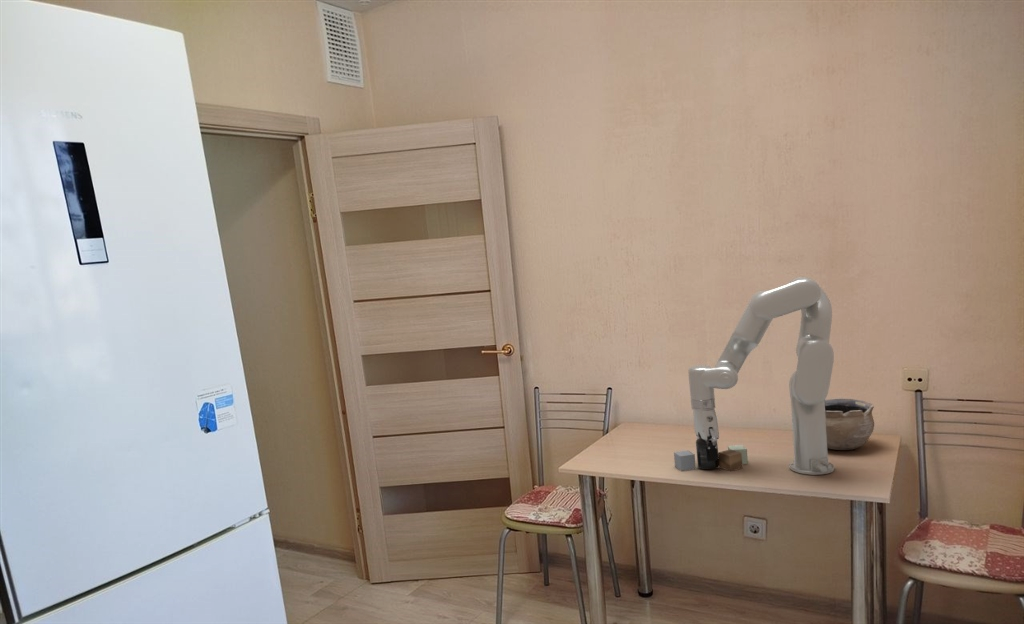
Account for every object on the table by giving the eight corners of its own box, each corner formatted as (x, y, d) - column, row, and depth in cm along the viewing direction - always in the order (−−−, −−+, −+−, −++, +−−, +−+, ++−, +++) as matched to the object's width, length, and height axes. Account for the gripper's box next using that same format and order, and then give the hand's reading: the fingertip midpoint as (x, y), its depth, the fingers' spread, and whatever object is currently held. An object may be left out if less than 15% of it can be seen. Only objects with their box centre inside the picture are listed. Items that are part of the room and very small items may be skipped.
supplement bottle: (724, 467, 208) (720, 430, 207) (706, 471, 205) (703, 434, 205) (710, 462, 214) (707, 426, 213) (693, 466, 212) (690, 430, 211)
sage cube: (747, 464, 210) (746, 449, 210) (732, 464, 211) (731, 450, 210) (743, 459, 215) (743, 444, 215) (728, 460, 216) (727, 445, 215)
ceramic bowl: (835, 460, 206) (833, 414, 205) (790, 444, 227) (787, 402, 226) (891, 449, 212) (889, 405, 211) (841, 435, 233) (839, 394, 232)
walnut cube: (742, 467, 207) (741, 452, 206) (730, 471, 205) (729, 455, 204) (731, 464, 211) (730, 449, 211) (719, 467, 209) (718, 452, 209)
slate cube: (695, 469, 210) (694, 454, 209) (681, 471, 209) (680, 456, 209) (689, 465, 215) (687, 450, 214) (674, 467, 214) (673, 452, 213)
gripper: (725, 407, 200) (729, 463, 201) (704, 397, 217) (708, 449, 218) (701, 410, 200) (706, 466, 201) (682, 400, 217) (687, 451, 218)
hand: (707, 456), depth 209 cm, fingers closed on supplement bottle, 6 cm apart
